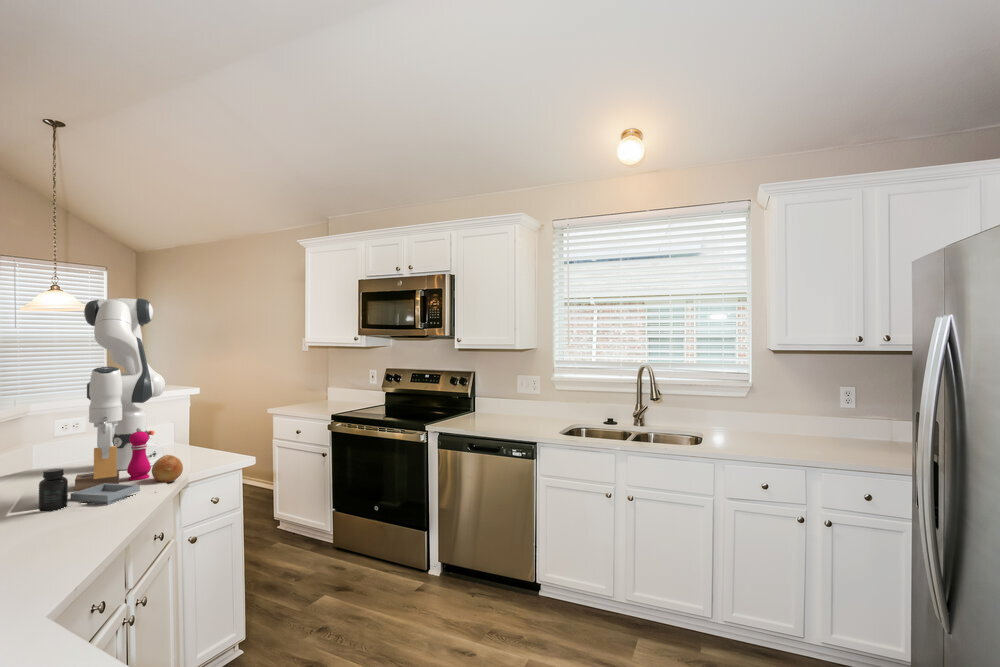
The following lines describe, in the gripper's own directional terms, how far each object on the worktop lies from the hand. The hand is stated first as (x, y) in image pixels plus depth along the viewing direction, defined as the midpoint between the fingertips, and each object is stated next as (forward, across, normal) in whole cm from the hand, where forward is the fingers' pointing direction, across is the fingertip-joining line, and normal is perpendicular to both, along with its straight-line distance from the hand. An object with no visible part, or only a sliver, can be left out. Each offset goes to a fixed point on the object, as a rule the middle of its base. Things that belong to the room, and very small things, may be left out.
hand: (105, 457), depth 172 cm
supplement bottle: (+14, -3, +13) cm, 19 cm away
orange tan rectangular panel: (+7, 0, 0) cm, 7 cm away
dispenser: (+13, +16, +3) cm, 21 cm away
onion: (+14, +11, -18) cm, 25 cm away
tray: (+14, 0, 0) cm, 14 cm away
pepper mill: (+14, +19, -9) cm, 25 cm away
